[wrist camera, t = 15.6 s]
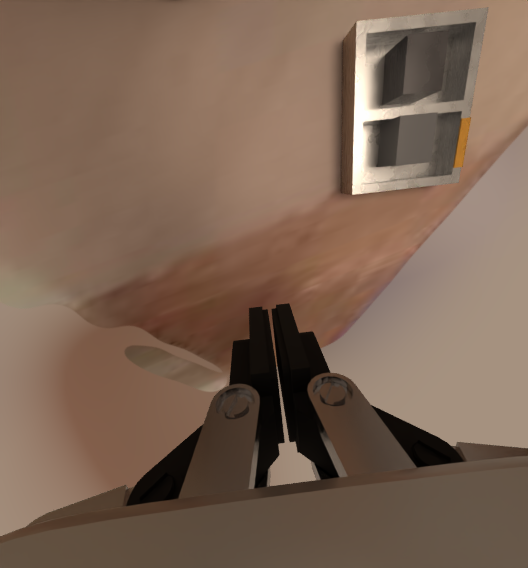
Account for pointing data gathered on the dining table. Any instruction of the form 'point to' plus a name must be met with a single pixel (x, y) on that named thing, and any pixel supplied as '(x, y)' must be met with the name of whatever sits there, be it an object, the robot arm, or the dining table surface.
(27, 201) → the dining table surface
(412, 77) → the grey divided tray
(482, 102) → the dining table surface
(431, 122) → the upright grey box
